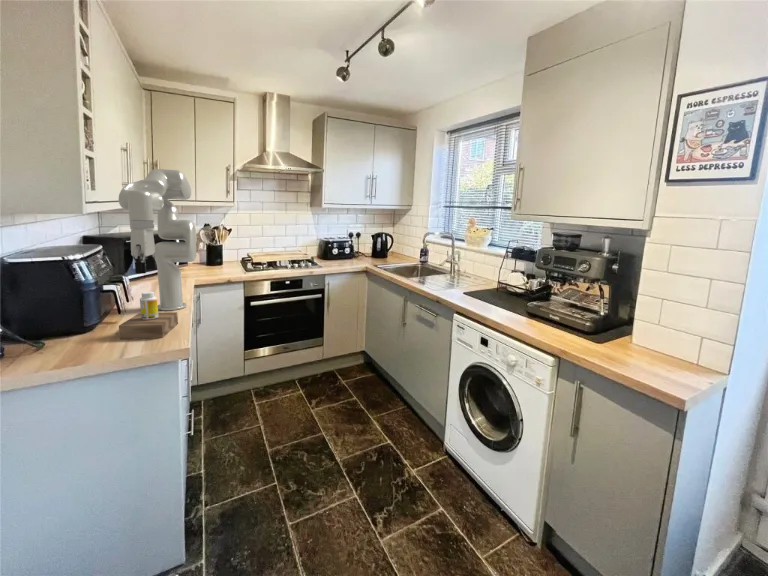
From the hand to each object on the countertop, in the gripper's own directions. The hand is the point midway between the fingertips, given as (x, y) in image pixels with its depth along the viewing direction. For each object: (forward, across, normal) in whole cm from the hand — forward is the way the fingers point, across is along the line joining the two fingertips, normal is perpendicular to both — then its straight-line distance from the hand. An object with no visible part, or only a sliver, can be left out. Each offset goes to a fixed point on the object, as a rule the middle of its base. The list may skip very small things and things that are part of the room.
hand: (146, 271), depth 140 cm
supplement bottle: (+19, 0, 0) cm, 19 cm away
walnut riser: (+23, 0, 0) cm, 23 cm away
